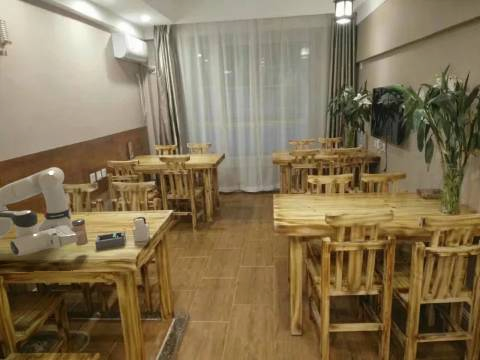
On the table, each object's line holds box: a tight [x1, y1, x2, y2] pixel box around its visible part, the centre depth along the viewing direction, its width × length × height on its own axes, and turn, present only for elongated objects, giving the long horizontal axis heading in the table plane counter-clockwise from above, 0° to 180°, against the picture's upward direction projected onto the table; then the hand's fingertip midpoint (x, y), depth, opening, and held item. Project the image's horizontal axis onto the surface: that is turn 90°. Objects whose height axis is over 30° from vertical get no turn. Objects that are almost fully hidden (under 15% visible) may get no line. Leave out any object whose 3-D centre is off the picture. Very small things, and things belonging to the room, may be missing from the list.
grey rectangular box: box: [94, 230, 127, 250], centre depth 187 cm, size 14×10×5 cm
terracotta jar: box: [71, 218, 89, 247], centre depth 175 cm, size 6×6×12 cm
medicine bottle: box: [132, 216, 151, 243], centre depth 189 cm, size 7×7×12 cm
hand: (81, 229), depth 176 cm, fingers closed on terracotta jar, 5 cm apart
